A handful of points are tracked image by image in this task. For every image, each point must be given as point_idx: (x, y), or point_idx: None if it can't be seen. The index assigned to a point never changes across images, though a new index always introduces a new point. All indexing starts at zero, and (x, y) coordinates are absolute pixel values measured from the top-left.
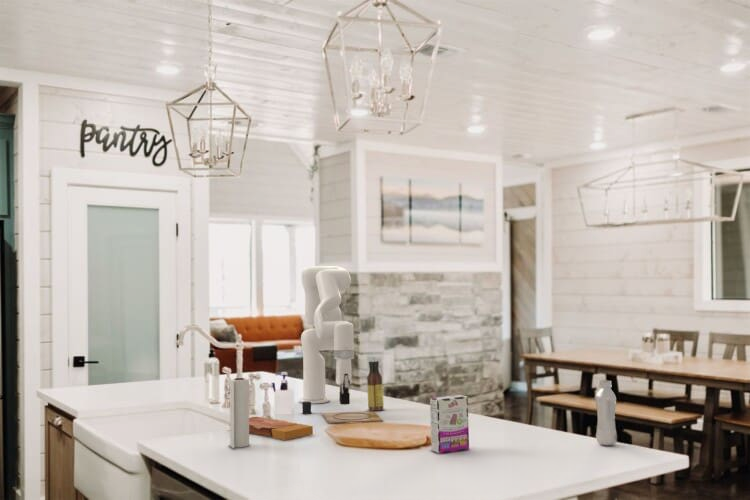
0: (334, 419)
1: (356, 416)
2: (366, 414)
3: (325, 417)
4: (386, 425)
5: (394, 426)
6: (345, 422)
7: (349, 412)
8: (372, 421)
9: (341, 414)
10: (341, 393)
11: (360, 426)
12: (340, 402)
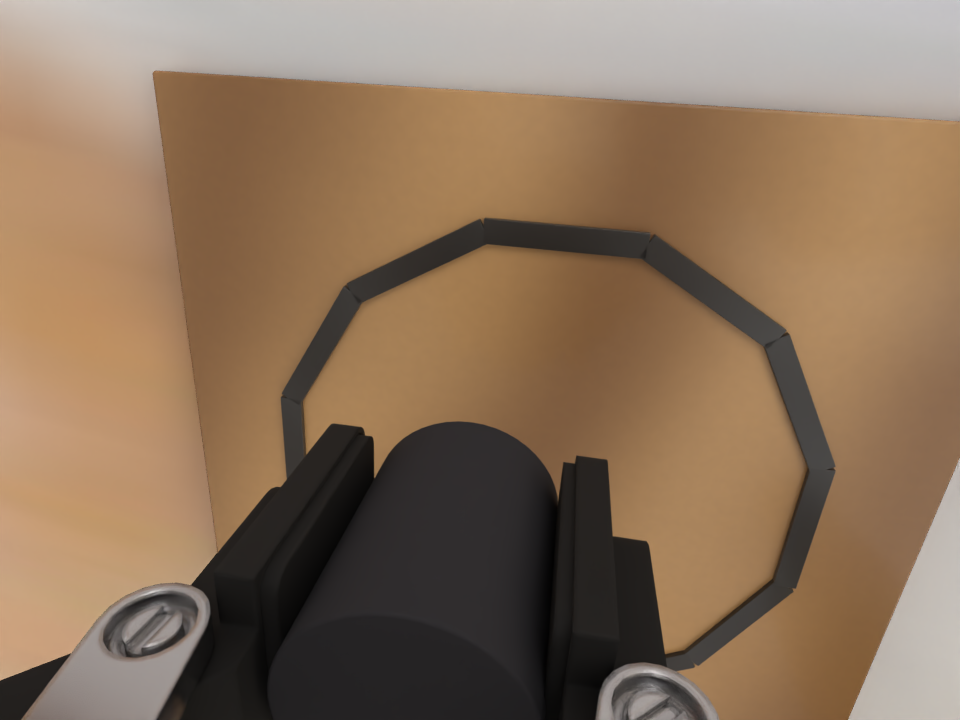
0: (368, 204)
1: None
2: None
3: (654, 102)
4: (63, 629)
5: (21, 663)
6: (188, 310)
7: (861, 547)
8: None
9: (751, 404)
10: (319, 601)
11: (14, 414)
12: (437, 439)
